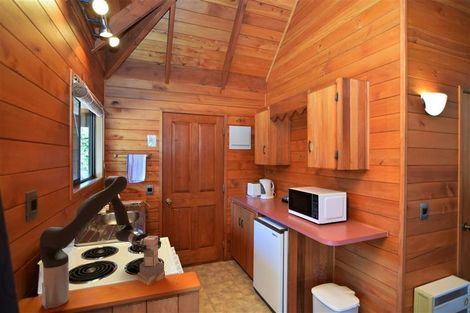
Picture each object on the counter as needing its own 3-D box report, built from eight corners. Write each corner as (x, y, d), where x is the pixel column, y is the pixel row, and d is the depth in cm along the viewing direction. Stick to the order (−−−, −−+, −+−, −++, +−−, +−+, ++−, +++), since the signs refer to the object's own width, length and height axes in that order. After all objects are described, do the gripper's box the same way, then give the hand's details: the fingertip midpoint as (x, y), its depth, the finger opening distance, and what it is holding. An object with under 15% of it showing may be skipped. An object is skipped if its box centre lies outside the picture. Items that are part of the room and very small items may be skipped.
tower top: (148, 277, 124) (148, 270, 124) (139, 272, 130) (139, 264, 130) (164, 271, 131) (164, 264, 131) (155, 266, 137) (155, 259, 137)
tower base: (147, 286, 124) (147, 278, 124) (137, 280, 130) (137, 272, 130) (165, 278, 131) (165, 271, 131) (154, 273, 138) (154, 266, 138)
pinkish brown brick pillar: (158, 262, 133) (158, 235, 133) (153, 267, 127) (153, 239, 127) (148, 261, 134) (148, 235, 134) (143, 266, 128) (143, 238, 128)
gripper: (125, 235, 135) (140, 242, 124) (149, 229, 145) (165, 235, 135) (125, 249, 135) (140, 257, 124) (149, 242, 145) (165, 248, 135)
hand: (153, 245), depth 129 cm, fingers open, 8 cm apart
